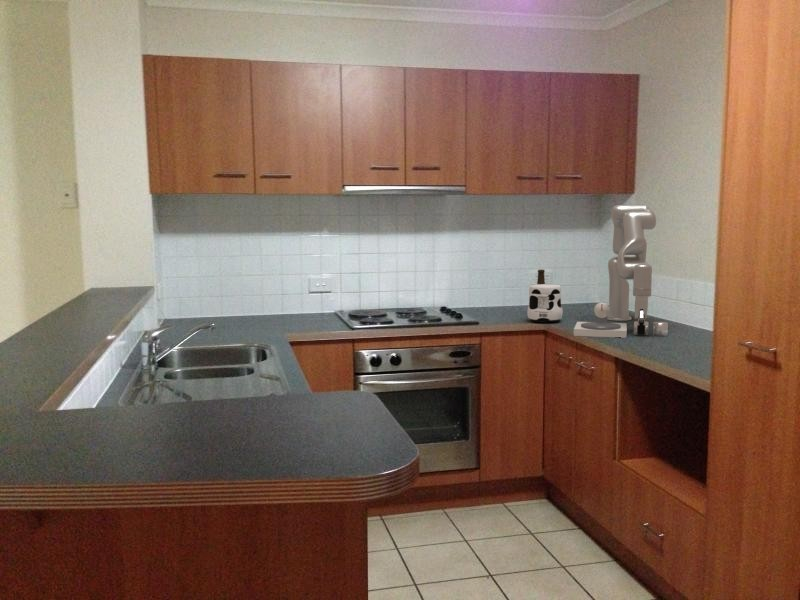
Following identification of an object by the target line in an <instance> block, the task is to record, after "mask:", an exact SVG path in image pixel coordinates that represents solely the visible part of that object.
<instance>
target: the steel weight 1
mask: <svg viewBox="0 0 800 600" xmlns="http://www.w3.org/2000/svg"><path fill="white" fill-rule="evenodd" d="M637 325H638V320H635V321H633V335H635V336H640V335H639V334H637ZM644 336H649V321H646V320H645V335H644Z"/></svg>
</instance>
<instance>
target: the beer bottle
mask: <svg viewBox="0 0 800 600" xmlns="http://www.w3.org/2000/svg"><path fill="white" fill-rule="evenodd" d="M545 272H546V271H545V269H537V282H536V284H546V282H545V279H546V278H545Z"/></svg>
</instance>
